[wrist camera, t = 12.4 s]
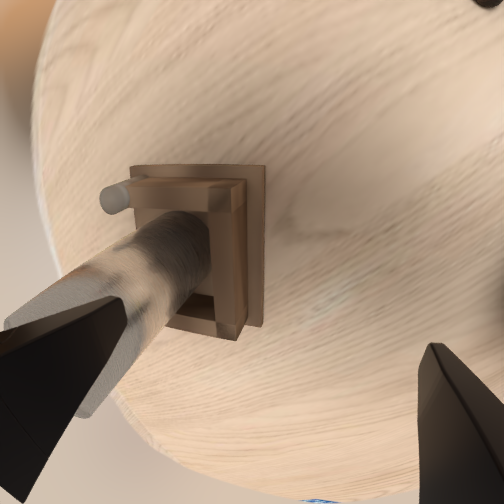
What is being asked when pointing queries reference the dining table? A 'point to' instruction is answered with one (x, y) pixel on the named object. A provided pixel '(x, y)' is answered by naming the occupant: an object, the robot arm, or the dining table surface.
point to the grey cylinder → (131, 289)
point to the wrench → (489, 2)
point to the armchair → (220, 231)
